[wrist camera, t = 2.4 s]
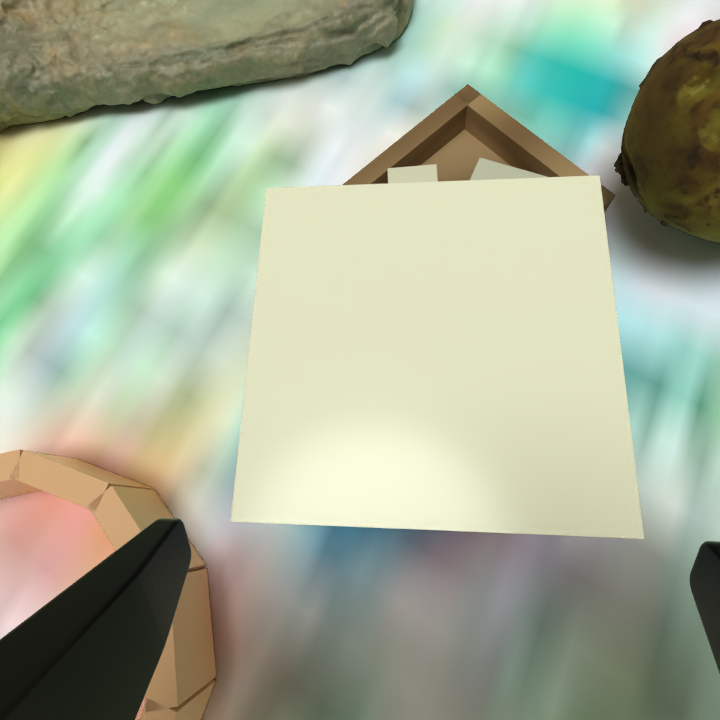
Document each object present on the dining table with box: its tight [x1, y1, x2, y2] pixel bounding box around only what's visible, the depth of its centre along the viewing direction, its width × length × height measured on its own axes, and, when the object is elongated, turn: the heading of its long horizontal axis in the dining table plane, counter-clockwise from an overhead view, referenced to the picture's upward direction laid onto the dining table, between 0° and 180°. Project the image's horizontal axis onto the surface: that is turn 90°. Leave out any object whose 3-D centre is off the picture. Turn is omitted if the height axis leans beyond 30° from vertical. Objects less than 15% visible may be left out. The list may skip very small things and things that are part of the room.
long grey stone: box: [0, 0, 413, 133], centre depth 26 cm, size 35×5×10 cm
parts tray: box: [343, 84, 615, 213], centre depth 21 cm, size 8×8×2 cm
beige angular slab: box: [470, 158, 547, 180], centre depth 20 cm, size 3×2×2 cm
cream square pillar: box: [231, 175, 644, 539], centre depth 13 cm, size 5×5×13 cm
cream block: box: [388, 164, 438, 183], centre depth 21 cm, size 3×2×2 cm
